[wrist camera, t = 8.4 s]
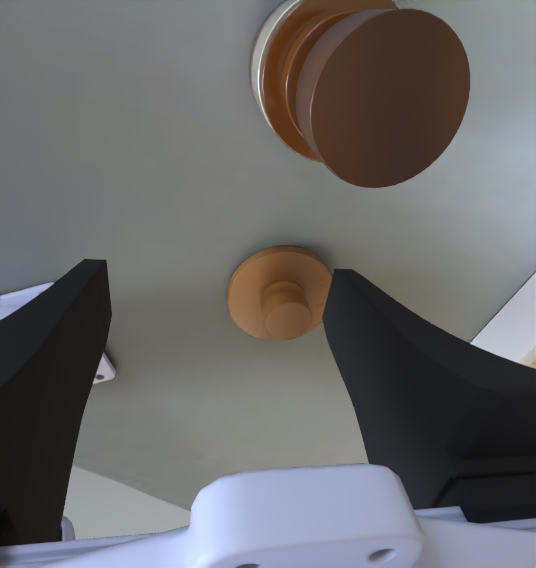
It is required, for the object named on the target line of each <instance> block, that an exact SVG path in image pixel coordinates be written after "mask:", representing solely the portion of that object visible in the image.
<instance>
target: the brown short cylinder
mask: <svg viewBox="0 0 536 568" xmlns="http://www.w3.org/2000/svg"><path fill="white" fill-rule="evenodd" d="M469 91H470V70H469V63H468V59H467V55H466V52H465V50H464V47H463V45H462V43H461V41H460V39H459V38H458V36H457V34H456V33H455V32H454V31H453V30H452V28H451V27H450V26H449V25H448V24H447V23H445V22H444V21H443V20H442V19H440V18H438V17H437V16H435V15H433V14H431V13H428V12H425V11H422V10H417V9H370V10H365V11H360V12H357V13H354V14H351V15H349V16H347V17H345V18H344V19H342V20H340V21H339V22H337V23H336V24H334V25H333V26H332V27H330V28H329V29H328V30H327V31H326V32H325V33H324V34H323V35H322V36H321V37H320V39H319V40H318V41H317V42H316V43H315V45H314V46H313V48H312V49H311V51H310V52H309V54H308V56H307V58H306V60H305V62H304V64H303V67H302V69H301V72H300V75H299V79H298V83H297V89H296V115H297V120H298V124H299V127H300V130H301V132H302V135H303V137H304V138H305V140H306V142H307V143H308V145H309V146H310V148H311V149H312V150H313V151H314V152H315V154H316V155H317V156H318V157H319V158H320V160H321V161H322V162H323V163H324V164H325V166H326V167H327V168H328V169H329V170H330V171H331V172H332V173H333V174H335V175H336V176H337V177H339V178H340V179H342V180H344V181H346V182H348V183H350V184H353V185H356V186H360V187H367V188H380V187H387V186H392V185H396V184H399V183H402V182H404V181H406V180H408V179H411V178H412V177H414V176H416V175H417V174H419V173H421V172H422V171H423V170H425V169H426V168H427V167H429V166H430V165H431V164H432V163H433V162H434V161H435V160H436V159H437V158H438V157H439V156H440V155H441V154H442V153H443V152H444V151H445V149H446V148H447V146H448V145H449V144H450V142H451V141H452V139H453V138H454V136H455V134H456V133H457V131H458V128H459V126H460V124H461V122H462V120H463V117H464V114H465V111H466V107H467V103H468V99H469Z"/></svg>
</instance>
